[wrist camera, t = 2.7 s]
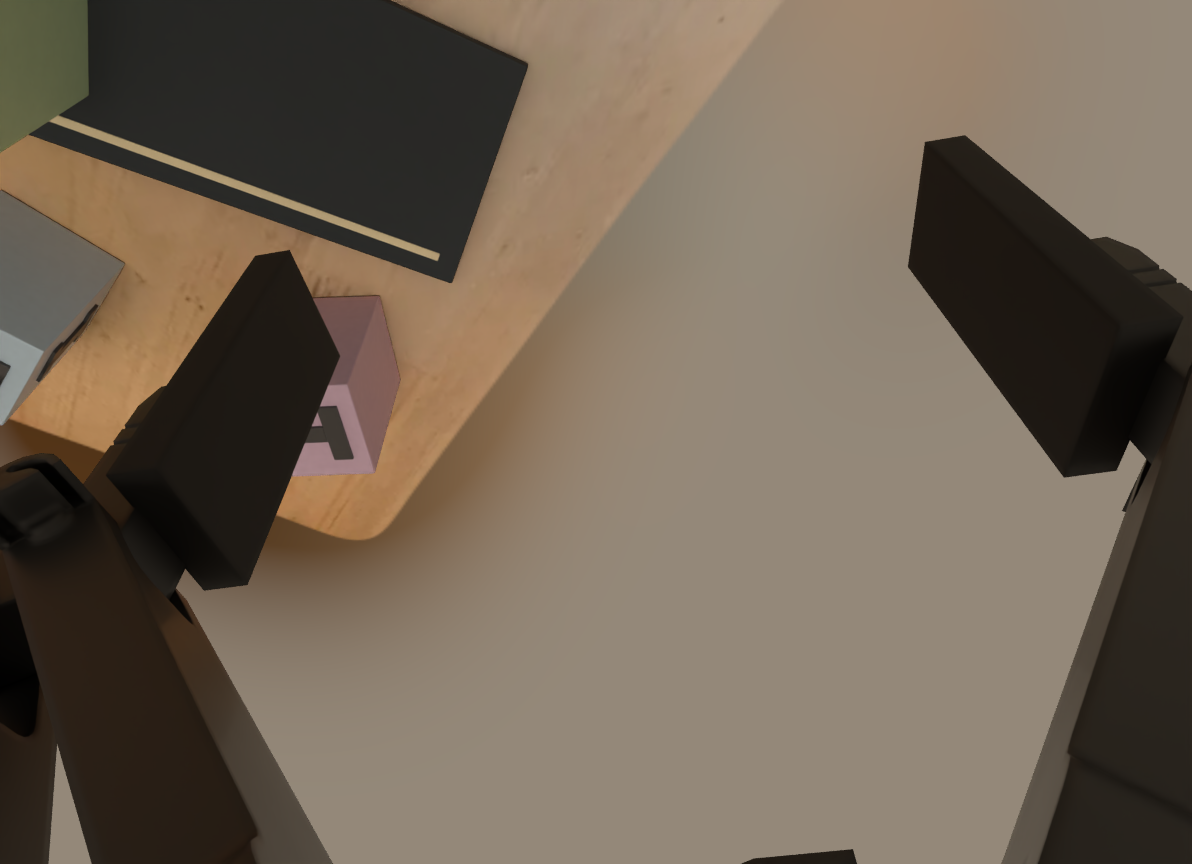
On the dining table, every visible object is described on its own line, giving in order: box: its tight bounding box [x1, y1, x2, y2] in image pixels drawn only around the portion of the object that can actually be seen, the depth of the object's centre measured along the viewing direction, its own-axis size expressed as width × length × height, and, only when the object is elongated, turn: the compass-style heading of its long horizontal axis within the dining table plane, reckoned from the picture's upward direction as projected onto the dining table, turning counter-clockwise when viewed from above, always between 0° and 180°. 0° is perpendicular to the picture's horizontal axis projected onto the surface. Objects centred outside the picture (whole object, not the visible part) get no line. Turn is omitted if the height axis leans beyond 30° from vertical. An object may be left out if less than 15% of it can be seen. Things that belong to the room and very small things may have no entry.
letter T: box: [292, 296, 400, 476], centre depth 36 cm, size 6×6×8 cm
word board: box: [28, 0, 528, 283], centre depth 30 cm, size 23×11×1 cm, turn 66°
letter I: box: [0, 190, 125, 425], centre depth 33 cm, size 6×6×8 cm
